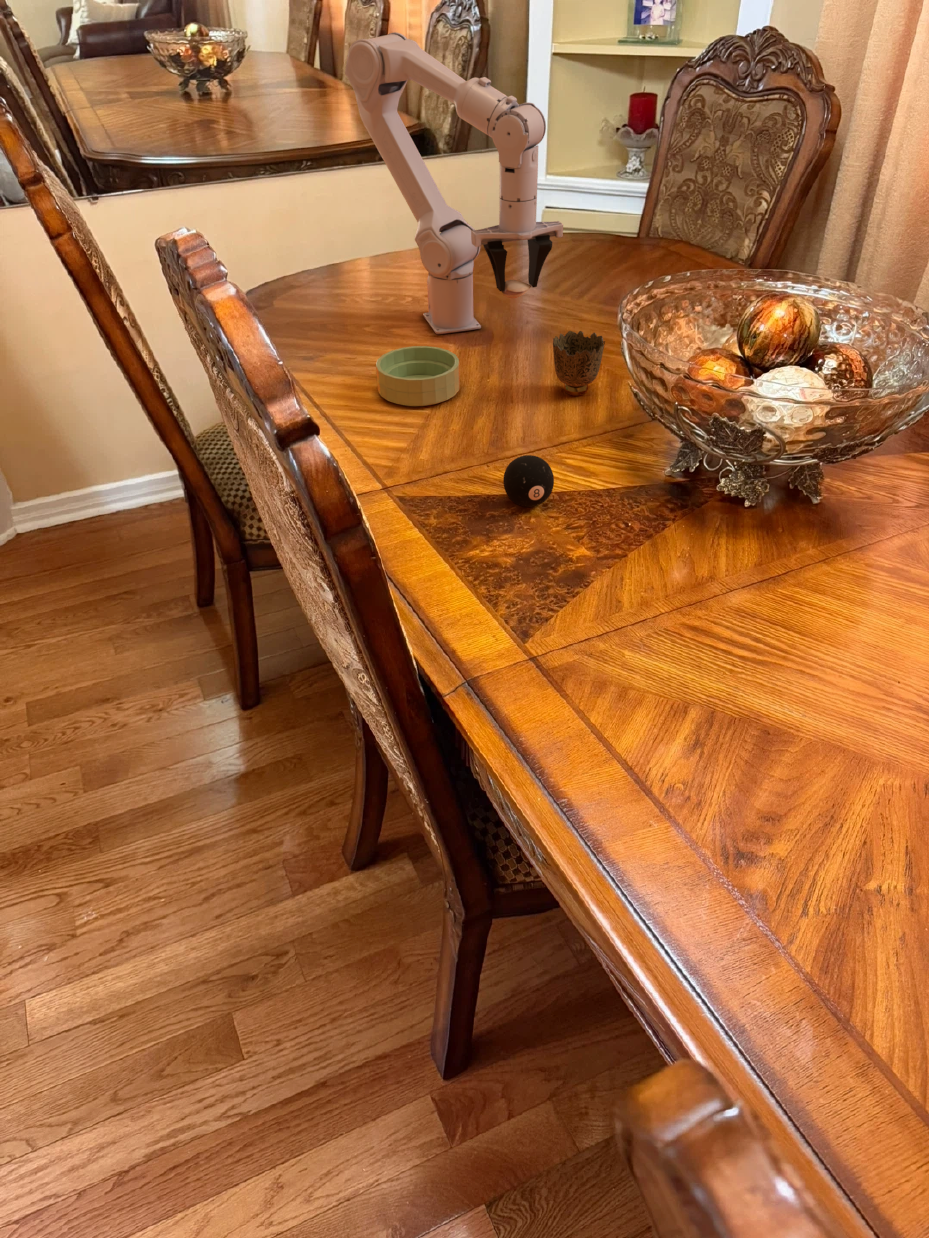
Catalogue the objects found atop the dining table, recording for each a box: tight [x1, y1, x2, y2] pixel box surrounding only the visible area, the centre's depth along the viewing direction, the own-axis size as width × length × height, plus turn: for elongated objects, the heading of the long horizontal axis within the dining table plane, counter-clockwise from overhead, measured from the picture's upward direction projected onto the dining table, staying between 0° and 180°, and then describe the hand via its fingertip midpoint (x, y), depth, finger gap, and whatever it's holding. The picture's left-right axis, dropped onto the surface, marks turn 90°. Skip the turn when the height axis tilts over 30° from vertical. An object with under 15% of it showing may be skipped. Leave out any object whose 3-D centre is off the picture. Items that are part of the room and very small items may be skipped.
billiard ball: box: [502, 454, 555, 508], centre depth 107 cm, size 6×6×6 cm
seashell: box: [501, 279, 532, 299], centre depth 144 cm, size 4×5×2 cm
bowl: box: [375, 345, 461, 407], centre depth 132 cm, size 12×12×4 cm
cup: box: [552, 330, 606, 397], centre depth 130 cm, size 8×7×8 cm
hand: (516, 287), depth 144 cm, fingers closed on seashell, 5 cm apart
